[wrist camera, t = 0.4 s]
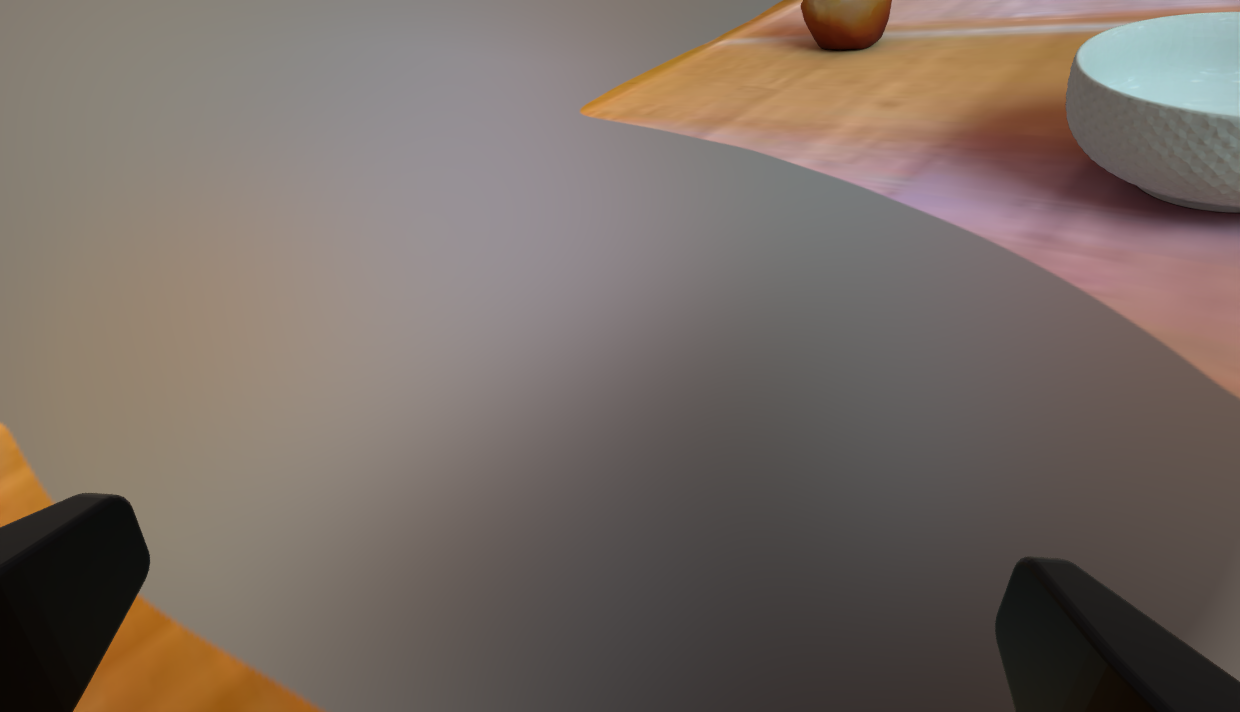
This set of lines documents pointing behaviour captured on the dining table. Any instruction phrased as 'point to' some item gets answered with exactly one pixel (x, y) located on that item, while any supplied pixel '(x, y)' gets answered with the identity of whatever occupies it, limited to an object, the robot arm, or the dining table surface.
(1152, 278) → the dining table surface
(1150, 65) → the cereal bowl
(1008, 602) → the robot arm
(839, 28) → the fruit
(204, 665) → the dining table surface
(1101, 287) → the dining table surface
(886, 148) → the dining table surface
